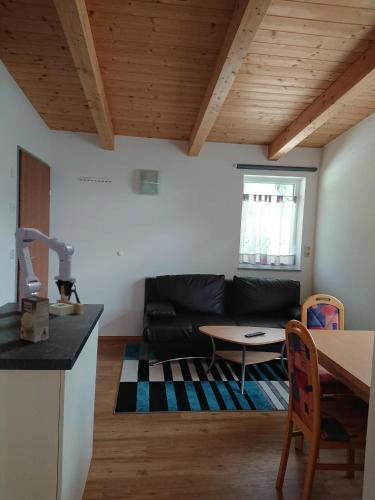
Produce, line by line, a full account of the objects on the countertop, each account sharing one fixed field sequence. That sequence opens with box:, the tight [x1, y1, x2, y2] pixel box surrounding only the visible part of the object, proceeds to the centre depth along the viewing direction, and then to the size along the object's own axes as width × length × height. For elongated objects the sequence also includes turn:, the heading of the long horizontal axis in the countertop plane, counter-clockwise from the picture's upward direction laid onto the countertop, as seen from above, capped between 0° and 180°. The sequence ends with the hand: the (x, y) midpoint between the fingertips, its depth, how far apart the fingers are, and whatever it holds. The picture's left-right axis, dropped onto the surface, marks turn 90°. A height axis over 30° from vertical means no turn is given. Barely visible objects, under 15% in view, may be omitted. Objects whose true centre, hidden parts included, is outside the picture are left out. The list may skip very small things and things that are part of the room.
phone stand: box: [68, 284, 82, 304], centre depth 183 cm, size 9×6×12 cm, turn 109°
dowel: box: [60, 286, 68, 302], centre depth 162 cm, size 4×4×8 cm
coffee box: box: [20, 295, 50, 343], centre depth 125 cm, size 9×6×16 cm
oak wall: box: [56, 298, 85, 315], centre depth 171 cm, size 20×2×5 cm, turn 58°
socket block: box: [49, 303, 75, 317], centre depth 167 cm, size 10×8×4 cm
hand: (64, 295), depth 162 cm, fingers closed on dowel, 4 cm apart
